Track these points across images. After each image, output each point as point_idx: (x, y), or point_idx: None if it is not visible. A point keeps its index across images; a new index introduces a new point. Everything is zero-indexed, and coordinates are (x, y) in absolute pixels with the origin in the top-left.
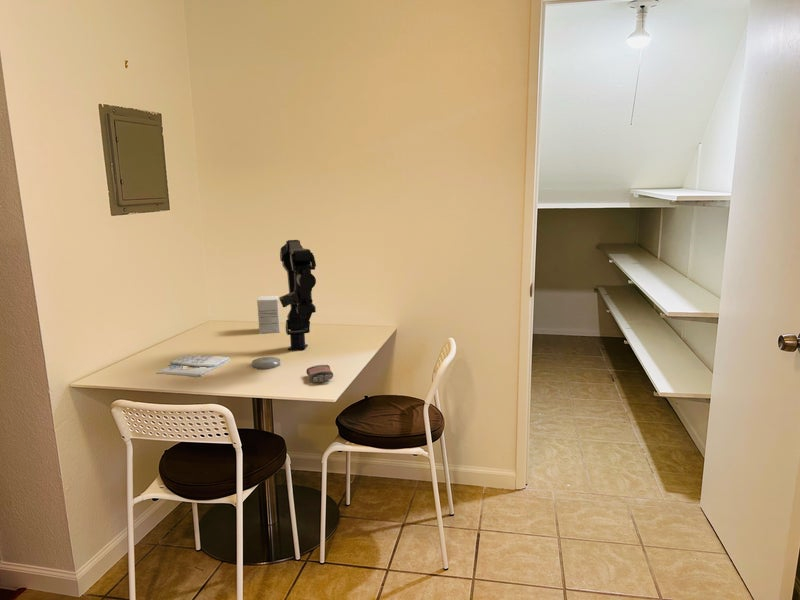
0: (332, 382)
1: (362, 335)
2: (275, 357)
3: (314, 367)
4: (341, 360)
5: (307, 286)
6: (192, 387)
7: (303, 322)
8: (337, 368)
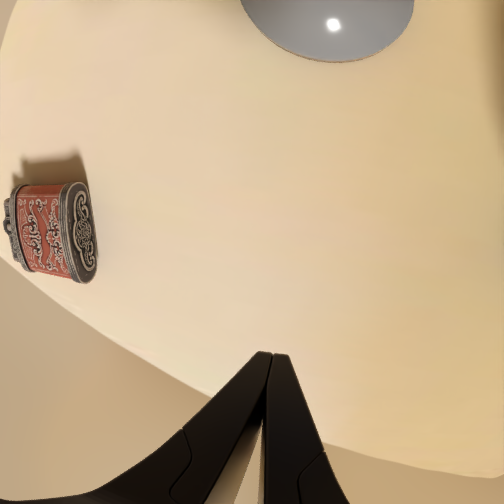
0: None
1: (494, 438)
2: (386, 43)
3: (59, 223)
4: None
5: None
6: None
7: (215, 404)
8: (157, 312)
